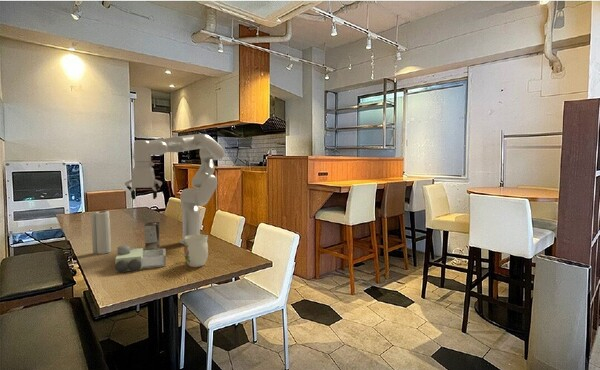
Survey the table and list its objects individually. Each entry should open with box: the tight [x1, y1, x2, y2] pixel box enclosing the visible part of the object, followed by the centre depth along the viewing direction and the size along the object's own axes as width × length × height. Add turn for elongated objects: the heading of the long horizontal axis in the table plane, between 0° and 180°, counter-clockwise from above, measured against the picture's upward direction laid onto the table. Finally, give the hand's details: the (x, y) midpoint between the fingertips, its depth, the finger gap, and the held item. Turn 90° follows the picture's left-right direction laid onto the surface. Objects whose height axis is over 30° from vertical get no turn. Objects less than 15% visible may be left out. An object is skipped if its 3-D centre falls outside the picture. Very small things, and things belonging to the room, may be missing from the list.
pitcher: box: [183, 233, 209, 268], centre depth 155 cm, size 11×18×14 cm, turn 36°
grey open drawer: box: [141, 247, 167, 270], centre depth 156 cm, size 10×13×5 cm
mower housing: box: [114, 244, 144, 274], centre depth 152 cm, size 10×18×9 cm, turn 22°
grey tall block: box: [90, 210, 112, 255], centre depth 172 cm, size 7×6×21 cm
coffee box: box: [144, 221, 161, 250], centre depth 169 cm, size 9×6×16 cm
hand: (144, 198), depth 168 cm, fingers open, 9 cm apart
